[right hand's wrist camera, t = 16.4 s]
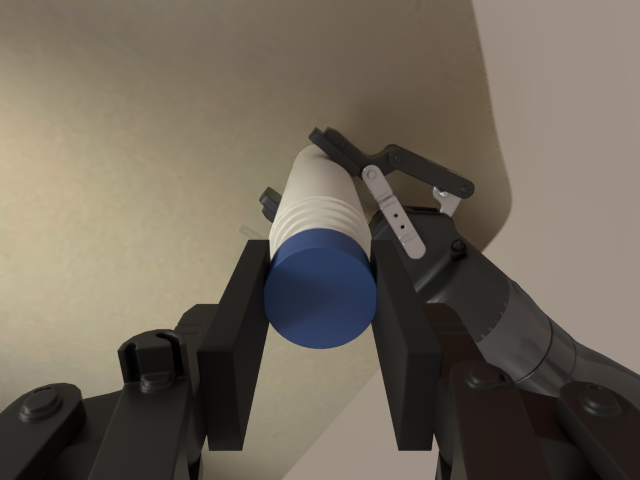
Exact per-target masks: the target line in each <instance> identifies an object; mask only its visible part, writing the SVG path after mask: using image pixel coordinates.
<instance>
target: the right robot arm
mask: <svg viewBox="0 0 640 480" xmlns="http://www.w3.org/2000/svg"><path fill="white" fill-rule="evenodd" d="M270 264H271V258H270V240H248V242H247V244H246V246H245V248H244V251H243V253H242V255H241V257H240V259H239V261H238V263H237V266H236V268H235V270H234V272H233V274H232V276H231V278H230V281H229V283H228V285H227V287H226V289H225V291H224V293H223V296H222V298H221V300H220V302H219V304H196V305H195V306H193V307H192V308H191V309H189V310H188V311H186V312H185V313H184V314H183V316H182V317H181V319H180V321H179V322H178V326H176V327H175V329H174V330H171V329H157V330H152V331H147V332H144V333H141V334H138V335H136V336H133V337H132V338H130V339H129V340H127V341H126V342H124V343H123V344H122V346H121V347H120V348H119V349H118V356H119V361H120V366H121V370H122V375H123V380H124V387H123V389H122V390H120V391H116V392H113V393H109V394H105V395H100V396H96V397H91V398H86V399H83V398H82V394H81V390H80V389H79V388H78V387H76V386H75V385H73V384H68V383H56V384H49V385H46V386H42V387H39V388H36V389H34V390H32V391H30V392H28V393H26V394H24V395H22V396H21V397H19V398H18V399H17V400H15V401H14V402H13V403H11V404H10V405H9V406H8V407H7V408H6V409H5V410H4V411H3V412H1V413H0V480H202V476H203V462H202V455H201V450H202V447H203V444H204V441H205V438H206V435H207V438H208V446H209V451H242V448H243V443H244V438H245V434H246V429H247V424H248V420H249V415H250V410H251V406H252V401H253V396H254V392H255V387H256V382H257V378H258V373H259V368H260V364H261V359H262V354H263V350H264V345H265V340H266V336H267V331H268V326H269V320H268V318H267V316H266V313H265V304H264V285H265V282H266V278H267V274H268V271H269V267H270ZM370 264H371V268H372V271H373V275H374V278H375V282H376V285H377V294H376V311H375V315H374V318H373V319H372V321H371V324H372V329H373V334H374V338H375V343H376V348H377V352H378V357H379V362H380V366H381V371H382V376H383V380H384V385H385V390H386V394H387V399H388V403H389V408H390V413H391V417H392V422H393V427H394V432H395V436H396V441H397V446H398V450H399V451H431V449H432V442H433V434H434V435H435V438H436V441H437V444H438V447H439V456H438V462H437V470H436V477H435V480H640V411H639V410H638V409H637V408H636V407H635V406H634V405H633V404H632V403H631V402H630V401H628V400H627V399H626V398H624V397H623V396H622V395H620V394H619V393H617V392H615V391H612V390H610V389H608V388H606V387H604V386H601V385H597V384H594V383H591V382H581V381H575V382H570V383H566V384H565V385H564V386H563V387H562V388H561V389H560V393H559V396H558V398H557V397H553V396H548V395H543V394H539V393H534V392H530V391H527V390H523V389H520V388H518V387H517V386H516V384H515V382H514V381H513V379H512V378H511V376H510V375H509V374H507V373H506V372H505V371H504V370H502V369H501V368H499V367H497V366H494V365H492V364H490V363H487V361H486V360H485V358H484V356H483V355H482V353H481V351H480V350H479V348H478V346H477V345H476V343H475V342H474V340H473V338H472V337H471V335H470V334H469V333H468V330H467V328H466V327H465V325H463V322H462V320H461V318H460V317H459V315H458V313H457V312H456V311H455V310H453V309H452V308H450V307H449V306H448V305H446V304H445V303H421V301H420V299H419V297H418V295H417V292H416V290H415V288H414V286H413V284H412V282H411V280H410V277H409V275H408V273H407V271H406V269H405V267H404V265H403V262H402V260H401V258H400V256H399V254H398V252H397V250H396V247H395V245H394V243H393V241H392V240H371V247H370Z"/></svg>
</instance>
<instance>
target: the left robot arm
mask: <svg viewBox="0 0 640 480" xmlns="http://www.w3.org/2000/svg"><path fill="white" fill-rule="evenodd" d="M309 139H310V140H311V141H312V142H313V143H314V144H315V145H316V146H318V147H319V148H320V149H321V150H322V151H324V152H325V153H326V154H327V155H328V156H329V157H331V158H332V159H333V160H334V161H335V162H337V163H338V164H339V165H340V166H341V167H343V168H344V169H345V170H346V171H347V172H348V173H350V174H351V175H352V176H353V177H355V175H357V176H359V177H360V178H361V179H362V180H363V181H364V182H365V183H366V185H367V187H368V188H369V190H370V192H371V193H372V195H373V197H374V198H375V200H376V202H377V204H378V205H379V207H380V209H379V210H378V211H377V212H376V214H375V215H374V216H373V218H372V220H371V221H370V223H369V225H368V226H369V229H370V233H371V238H372V240H392V241H393V243H394V245H395V247H396V250H397V252H398V254H399V256H400V258H401V260H402V262H403V265H404V267H405V269H406V271H407V273H408V275H409V277H410V280H411V282H412V284H413V286H414V288H415V290H416V292H417V295H418V297H419V299H420V301H421V303H445V304H446V305H448V306H449V307H450V308H452V309H453V310H455V311H456V312H457V313H458V315H459V317H460V318H461V320H462V322H463V325H465V327H466V328H467V330H468V333H469V334H470V335H471V337H472V338H473V340H474V342H475V343H476V345H477V346H478V348H479V350H480V351H481V353H482V355H483V356H484V358H485V360H486V361H487V363H490V364H492V365H494V366H497V367H499V368H501V369H502V370H504V371H505V372H506V373H507V374H509V375H510V376H511V378H512V379H513V381H514V382H515V384H516V386H517V387H518V388H520V389H523V390H527V391H530V392H534V393H539V394H543V395H548V396H553V397H557V398H558V396H559V393H560V389H561V388H562V387H563V386H564V385H565V384H566V383H570V382H575V381H581V382H591V383H594V384H597V385H601V386H604V387H606V388H608V389H610V390H612V391H615V392H617V393H619V394H620V395H622V396H623V397H624V398H626V399H627V400H628V401H630V402H631V403H632V404H633V405H634V406H635V407H636V408H637V409H638V410H639V411H640V375H638V374H637V373H635V372H633V371H631V370H629V369H628V368H626V367H624V366H622V365H620V364H619V363H617V362H615V361H613V360H611V359H610V358H608V357H606V356H604V355H602V354H600V353H598V352H596V351H594V350H591V349H589V348H587V347H585V346H583V345H582V344H580V343H578V342H576V341H575V340H574V339H573V338H572V337H571V336H570V335H569V334H568V333H567V332H566V331H564V330H563V329H562V328H561V327H560V326H559V325H557V324H556V323H555V322H554V321H553V320H552V319H550V318H549V317H548V316H547V315H546V314H545V313H544V312H543V311H542V310H541V309H540V308H539V307H538V306H537V305H536V303H535V302H534V301H533V300H532V298H531V297H530V296H529V295H528V294H527V293H526V292H525V291H524V290H523V289H522V288H521V287H520V286H519V285H518V284H517V283H516V282H515V281H513V280H511V279H510V278H509V277H508V276H507V275H506V274H504V273H503V272H502V271H501V270H500V269H499V268H498V267H496V266H495V265H494V264H493V263H492V262H491V261H490V260H488V259H487V258H486V257H485V256H484V255H483V254H482V253H480V252H479V251H478V250H477V249H476V248H475V247H474V246H472V245H471V244H470V243H469V242H468V241H467V240H465V239H464V238H463V237H462V236H461V235H460V234H459V233H458V232H457V230H456V228H455V224H454V221H453V219H452V218H451V217H452V215H453V214H454V212H455V210H456V209H457V207H458V205H459V203H460V202H461V200H462V199H466V198H469V197H470V196H471V195H472V194H473V193H474V184H473V183H472V182H471V181H469V180H468V179H466V178H464V177H463V176H461V175H460V174H458V173H456V172H454V171H452V170H449V169H447V168H445V167H443V166H441V165H439V164H436V163H434V162H432V161H430V160H428V159H426V158H423V157H421V156H419V155H417V154H415V153H413V152H411V151H408V150H406V149H404V148H402V147H400V146H398V145H395V144H390V145H388V146H386V147H385V149H384V150H383V151H381V152H379V153H377V154H375V155H373V156H368V155H365V154H363V153H362V152H361V151H360V150H359V149H357V148H356V147H355V146H354V145H353V144H352V143H351V142H349V141H348V140H347V139H346V138H345V137H344V136H342V135H341V134H340V133H339V132H338V131H337V130H335V129H332V128H329V127H327V129H326V130H325V131H324V132H322V131H321V130H319V129H318V128H317V127H315V129H314V130H313V131H312V132H311V134H310V135H309ZM396 169H397V170H400V171H402V172H404V173H406V174H408V175H411V176H413V177H415V178H417V179H419V180H422V181H424V182H426V183H428V184H430V188H429V191H430V194H431V195H432V196H433V197H434V198H435V199H436V200H437V207H436V208H428V207H413V206H401V204H400V203H399V201H398V199H397V198H396V196H395V194H394V193H393V191H392V189H391V188H390V186H389V184H388V183H387V181H386V179H385V177H384V176H385V175H387V174H389V173H390V172H392V171H394V170H396ZM281 199H282V196H281V195H280V194H279V193H277V192H276V191H275V190H274V189H272V188H270V187H268V188H267V189H266V190H265V192H264V193H263V194H262V195H261V197H260V199H259V201H260V202H261V204H262V205H264V208H263V210H262V212H263V214H264V215H265V217H266V218H267V219H268V220H269V221H271V222H272V223H273V222H274V219H275V217H276V214H277V211H278V208H279V205H280V202H281ZM369 261H370V258H369Z"/></svg>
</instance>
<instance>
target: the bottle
mask: <svg viewBox="0 0 640 480" xmlns="http://www.w3.org/2000/svg"><path fill="white" fill-rule="evenodd" d="M314 228H327V229H333V230H336V231H340V232H342V233H344V234H346V235H348V236H350V237H351V238H353V239H354V240H355V241H356V242H357V243H358V244H359V245H360V246H361V247H362V248H363V249H364V251H365V252H366V254H367V256H368V259H369V258H370V247H371V240H372V238H371V233H370V229H369V226H368V223H367V221H366V218H365V215H364V212H363V209H362V206H361V203H360V200H359V198H358V195H357V192H356V189H355V186H354V183H353V180H352V178H351V175H350V173H348V172H347V171H346V170H345V169H344V168H343V167H341V166H340V165H339V164H338V163H337V162H335V161H334V160H333V159H332V158H331V157H329V156H328V155H327V154H326V153H325V152H324V151H322V150H321V149H320V148H319V147H318V146H316V145H315V144H312V145H309V146H307V147H306V148H304V149H303V150H302V151H301V152H300V153H299V154H298V155H297V157H296V159H295V161H294V164H293V167H292V170H291V173H290V176H289V179H288V181H287V184H286V187H285V190H284V193H283V196H282V199H281V202H280V205H279V208H278V211H277V214H276V217H275V219H274V222H273V225H272V228H271V231H270V236H269V240H270V257H271V259H272V258H273V256H274V254H275V252H276V250H277V249H278V248H279V247H280V245H281V244H282V243H283V242H284V241H285V240H287V239H288V238H290V237H291V236H293V235H295V234H296V233H299V232H301V231H304V230H308V229H314Z"/></svg>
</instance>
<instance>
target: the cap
mask: <svg viewBox="0 0 640 480" xmlns="http://www.w3.org/2000/svg"><path fill="white" fill-rule="evenodd" d="M376 294H377V285H376V282H375V278H374V275H373V271H372V268H371V264H370V261H369V259H368V256H367V254H366V252H365V251H364V249H363V248H362V247H361V246H360V245H359V244H358V243H357V242H356V241H355V240H354V239H353V238H351V237H350V236H348V235H346V234H344V233H342V232H340V231H336V230H333V229H327V228H314V229H308V230H304V231H301V232H299V233H296V234H295V235H293V236H291V237H290V238H288V239H287V240H285V241H284V242H283V243H282V244H281V245H280V247H279V248H278V249H277V250H276V252H275V254H274V256H273V258H272V260H271V264H270V267H269V271H268V274H267V278H266V282H265V285H264V304H265V313H266V316H267V318H268V320H269V322H270V323H271V325H272V326H273V327H274V329H275V330H276V331H277V332H278V333H279V334H280V335H282V336H283V337H284V338H286V339H287V340H289V341H291V342H293V343H295V344H297V345H300V346H303V347H307V348H314V349H326V348H333V347H338V346H341V345H344V344H346V343H348V342H350V341H352V340H354V339H355V338H357V337H358V336H359V335H360V334H362V333H363V332H364V331H365V330H366V328H367V327H368V326H369V324H370V323H371V321H372V319H373V318H374V315H375V311H376Z"/></svg>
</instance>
